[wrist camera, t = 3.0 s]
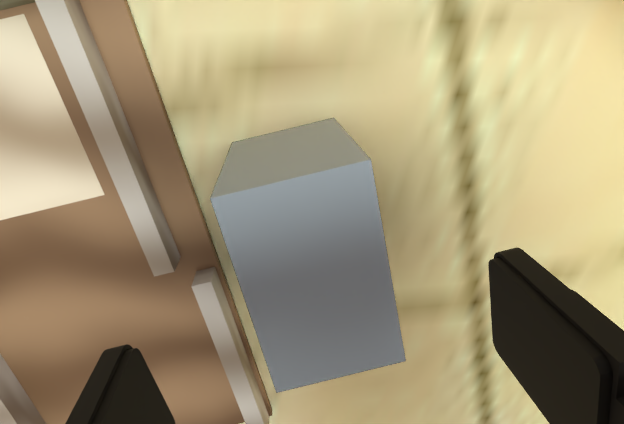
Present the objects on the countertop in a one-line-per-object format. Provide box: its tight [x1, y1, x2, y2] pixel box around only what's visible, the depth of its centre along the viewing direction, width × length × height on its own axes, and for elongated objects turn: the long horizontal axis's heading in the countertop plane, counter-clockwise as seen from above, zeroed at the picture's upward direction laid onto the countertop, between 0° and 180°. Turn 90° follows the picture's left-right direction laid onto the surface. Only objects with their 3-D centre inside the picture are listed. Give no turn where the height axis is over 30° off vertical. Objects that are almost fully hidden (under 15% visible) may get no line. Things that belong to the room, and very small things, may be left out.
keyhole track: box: [0, 0, 272, 424], centre depth 20 cm, size 26×14×3 cm, turn 13°
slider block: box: [210, 118, 406, 393], centre depth 18 cm, size 8×5×8 cm, turn 13°
